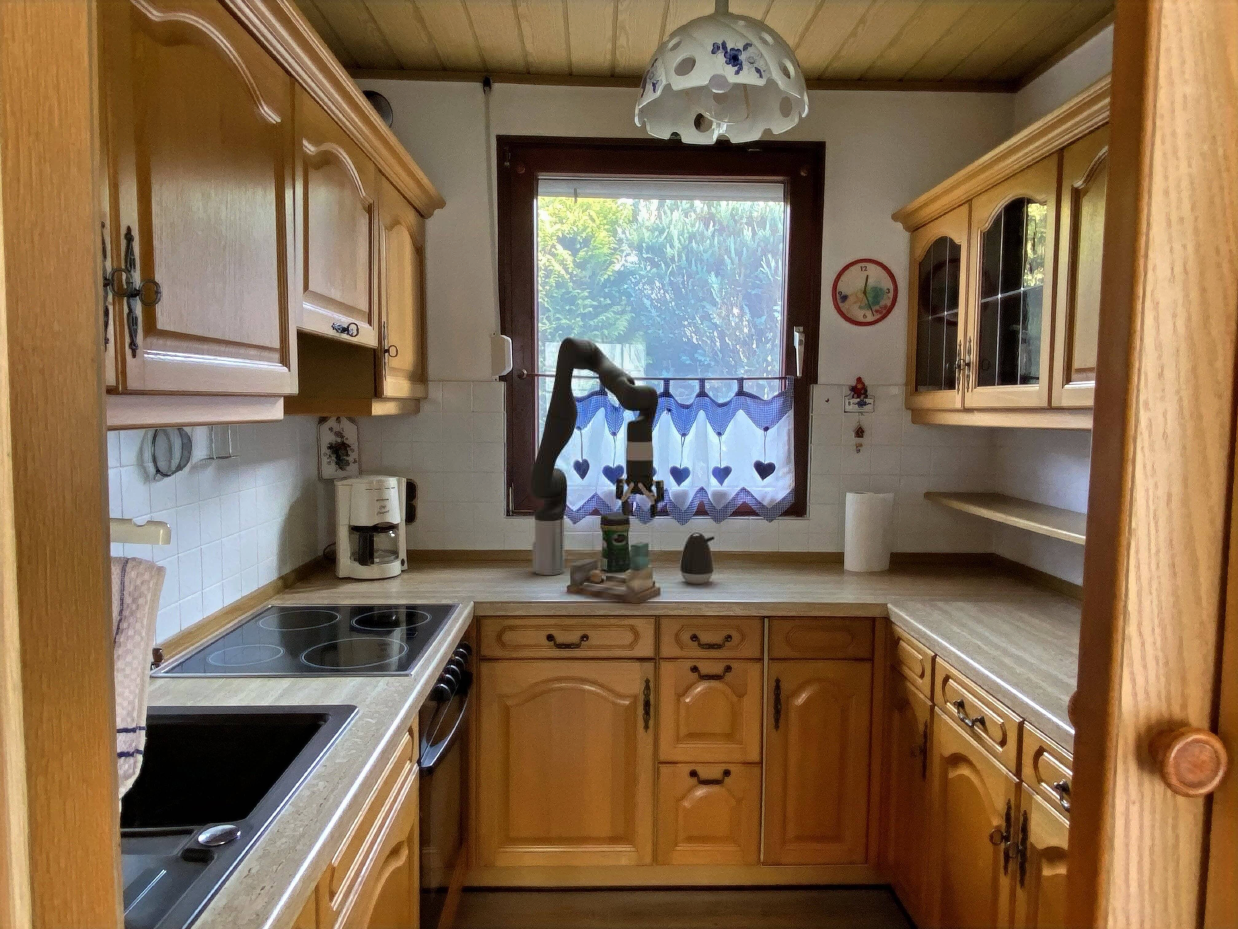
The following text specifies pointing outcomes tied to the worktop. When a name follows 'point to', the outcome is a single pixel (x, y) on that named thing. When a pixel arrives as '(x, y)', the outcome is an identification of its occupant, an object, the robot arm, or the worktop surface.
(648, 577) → the sliding jaw
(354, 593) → the worktop surface
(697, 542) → the pump dispenser
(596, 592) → the base
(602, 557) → the coffee jar
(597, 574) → the walnut
